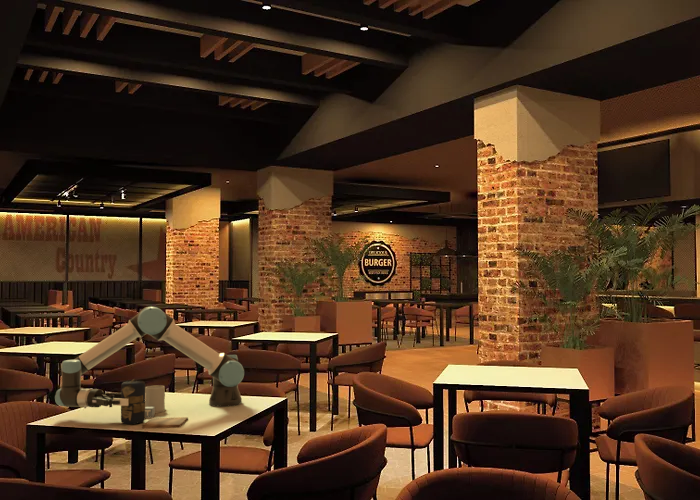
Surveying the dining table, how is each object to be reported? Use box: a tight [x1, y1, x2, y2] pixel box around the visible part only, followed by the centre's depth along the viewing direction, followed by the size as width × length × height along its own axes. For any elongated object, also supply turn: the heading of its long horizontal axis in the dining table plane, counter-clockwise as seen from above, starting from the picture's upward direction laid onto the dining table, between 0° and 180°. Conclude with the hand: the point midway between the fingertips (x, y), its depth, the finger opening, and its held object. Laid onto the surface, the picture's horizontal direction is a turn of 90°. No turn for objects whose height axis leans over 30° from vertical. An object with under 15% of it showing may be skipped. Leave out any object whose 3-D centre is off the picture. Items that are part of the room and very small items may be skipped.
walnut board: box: [141, 416, 189, 429], centre depth 273 cm, size 15×15×1 cm
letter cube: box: [145, 407, 156, 419], centre depth 288 cm, size 4×4×4 cm
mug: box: [145, 384, 166, 414], centre depth 302 cm, size 12×8×11 cm
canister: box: [120, 378, 146, 425], centre depth 276 cm, size 10×10×18 cm
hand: (137, 399), depth 275 cm, fingers open, 13 cm apart
